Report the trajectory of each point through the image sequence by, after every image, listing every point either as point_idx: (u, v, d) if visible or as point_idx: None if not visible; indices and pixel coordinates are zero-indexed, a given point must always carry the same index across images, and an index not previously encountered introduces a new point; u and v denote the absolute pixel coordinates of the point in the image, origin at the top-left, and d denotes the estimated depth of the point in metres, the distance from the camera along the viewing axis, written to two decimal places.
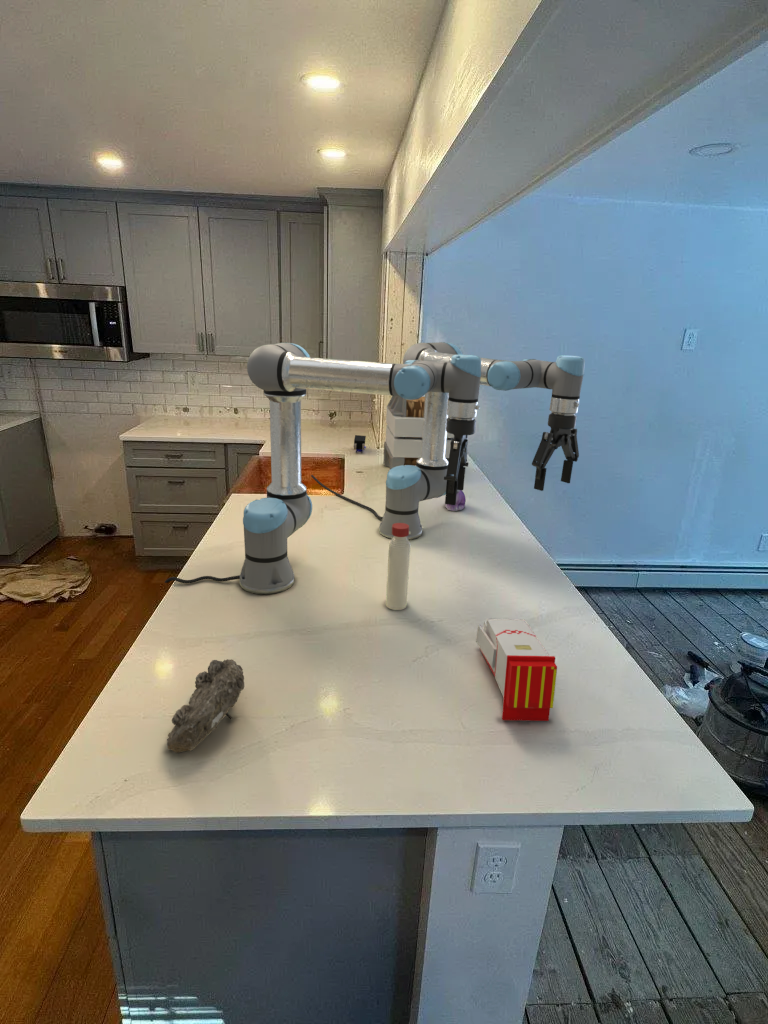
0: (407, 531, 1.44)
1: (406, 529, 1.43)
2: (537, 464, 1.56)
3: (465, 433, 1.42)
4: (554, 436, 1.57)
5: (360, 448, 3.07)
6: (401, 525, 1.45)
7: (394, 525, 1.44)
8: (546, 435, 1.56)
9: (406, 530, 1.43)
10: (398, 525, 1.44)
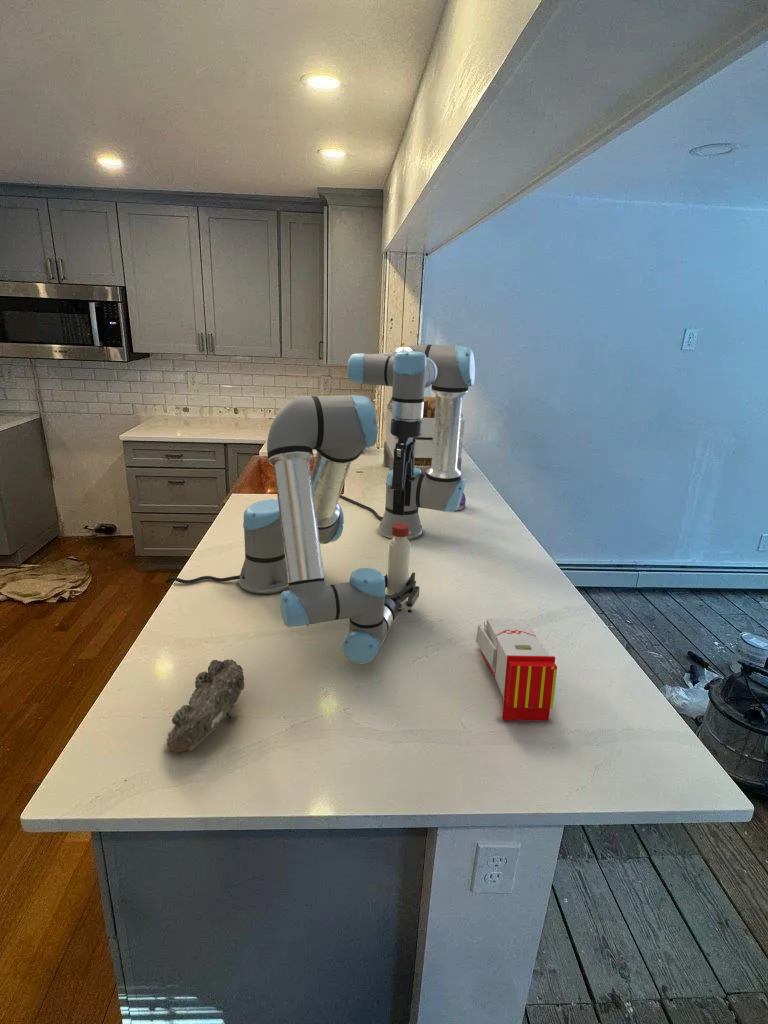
0: (407, 531, 1.44)
1: (406, 529, 1.43)
2: None
3: None
4: None
5: None
6: (401, 525, 1.45)
7: (394, 525, 1.44)
8: None
9: (406, 530, 1.43)
10: (398, 525, 1.44)
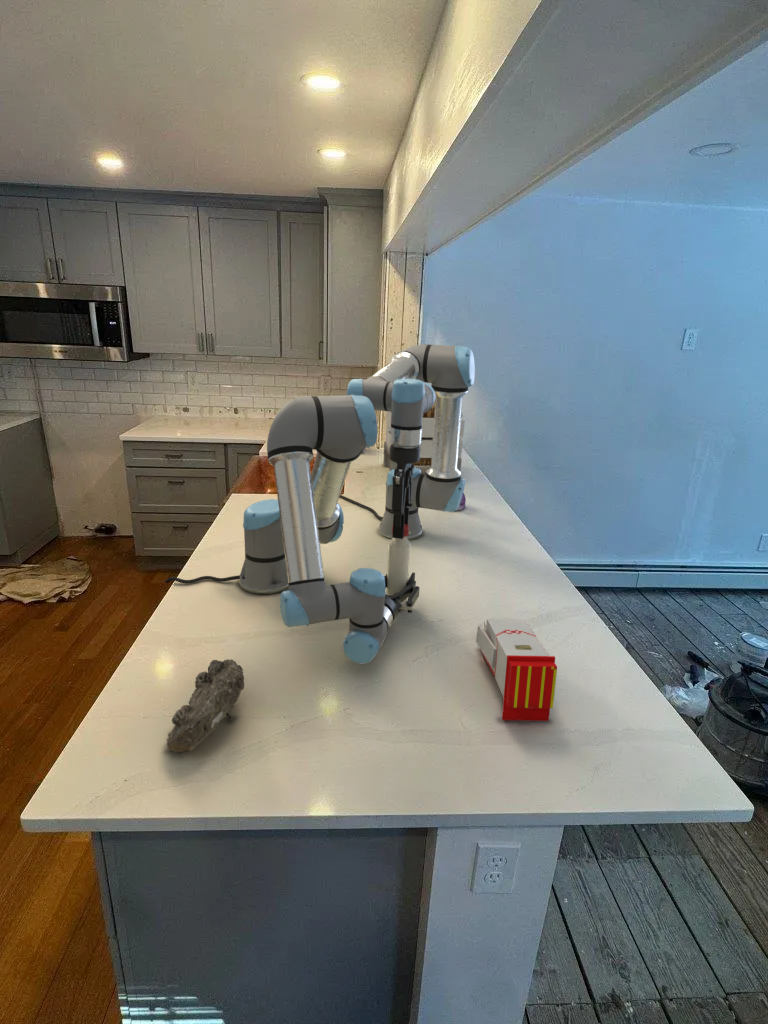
0: (407, 531, 1.44)
1: (406, 529, 1.43)
2: None
3: None
4: None
5: None
6: None
7: None
8: None
9: (406, 530, 1.43)
10: None
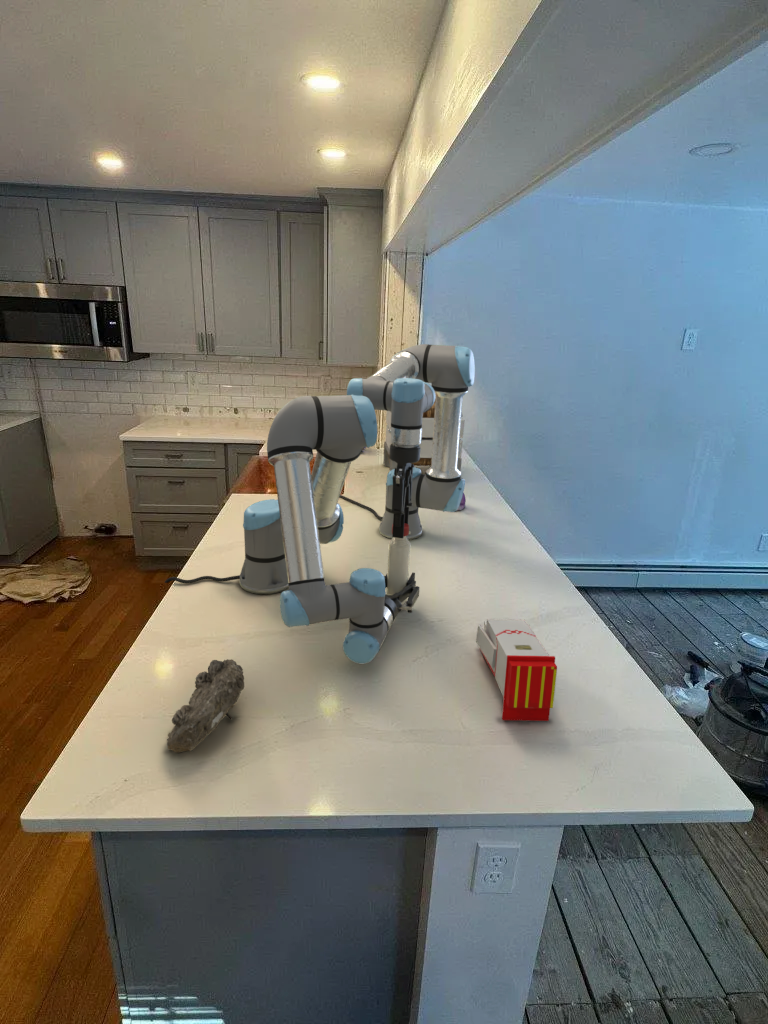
0: None
1: None
2: None
3: None
4: None
5: None
6: None
7: (404, 527, 1.43)
8: None
9: None
10: None
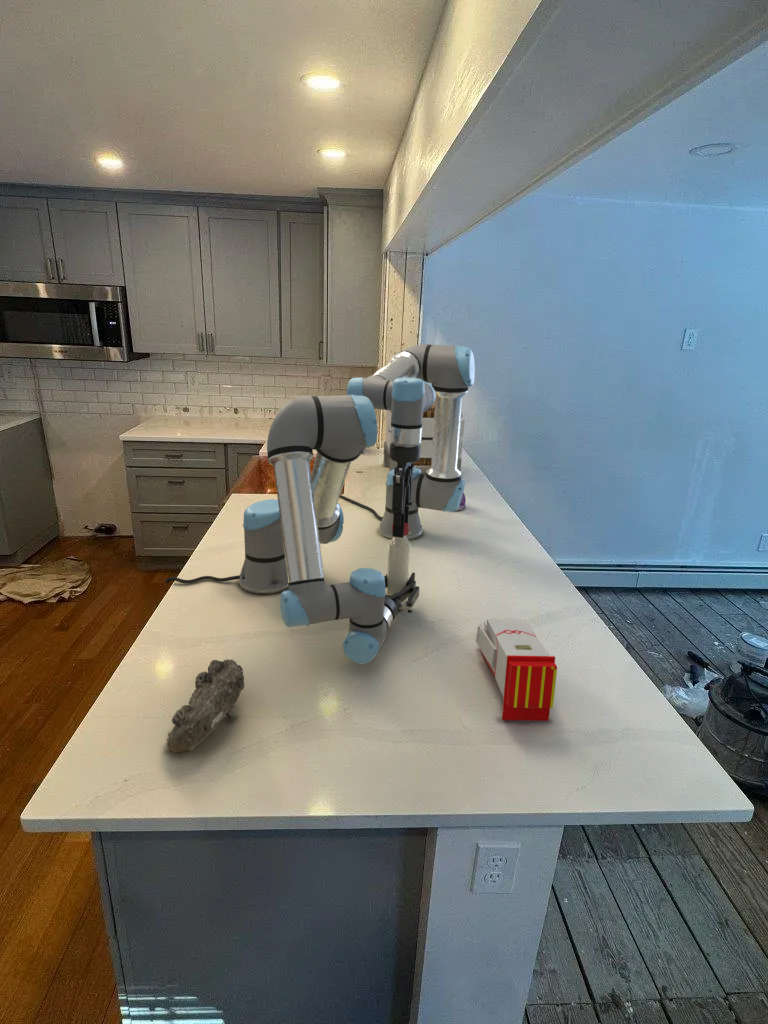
0: None
1: None
2: None
3: None
4: None
5: None
6: None
7: None
8: None
9: None
10: None
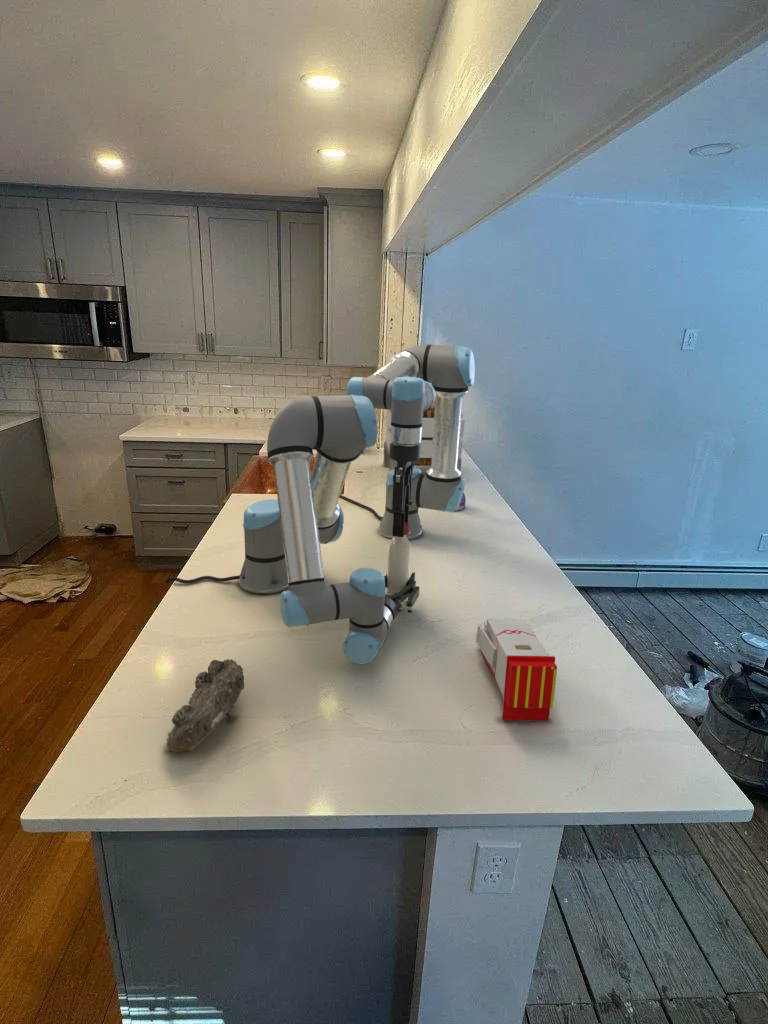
0: (408, 528, 1.45)
1: (408, 526, 1.44)
2: None
3: None
4: None
5: None
6: None
7: None
8: None
9: (408, 527, 1.44)
10: None
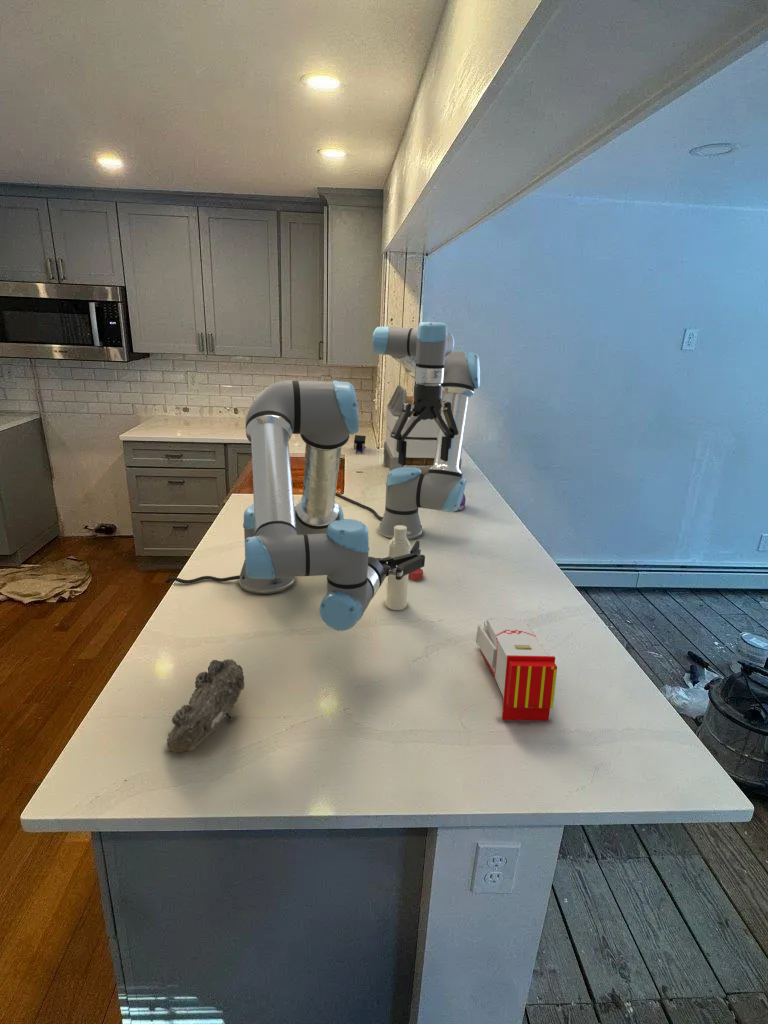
0: None
1: None
2: (393, 436, 1.48)
3: None
4: (415, 408, 1.49)
5: (360, 448, 3.07)
6: None
7: (421, 571, 1.67)
8: (405, 406, 1.48)
9: None
10: (417, 571, 1.67)
